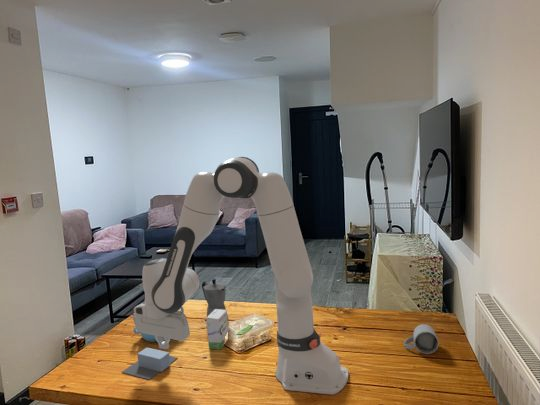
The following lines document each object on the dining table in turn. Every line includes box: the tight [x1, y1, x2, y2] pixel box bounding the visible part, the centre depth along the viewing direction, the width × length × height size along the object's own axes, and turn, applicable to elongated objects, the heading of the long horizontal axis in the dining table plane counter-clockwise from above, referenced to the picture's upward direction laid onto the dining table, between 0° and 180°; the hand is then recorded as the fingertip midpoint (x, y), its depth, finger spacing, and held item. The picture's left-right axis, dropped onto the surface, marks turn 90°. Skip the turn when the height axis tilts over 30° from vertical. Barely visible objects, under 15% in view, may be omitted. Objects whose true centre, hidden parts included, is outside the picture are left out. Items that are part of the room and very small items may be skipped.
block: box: [137, 347, 172, 373], centre depth 138 cm, size 4×4×10 cm
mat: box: [121, 355, 178, 381], centre depth 140 cm, size 12×14×1 cm
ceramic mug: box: [403, 323, 440, 355], centre depth 139 cm, size 11×8×8 cm
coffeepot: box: [201, 278, 229, 320], centre depth 171 cm, size 15×9×18 cm, turn 44°
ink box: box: [205, 309, 229, 350], centre depth 151 cm, size 8×5×12 cm, turn 164°
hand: (164, 347), depth 135 cm, fingers closed
